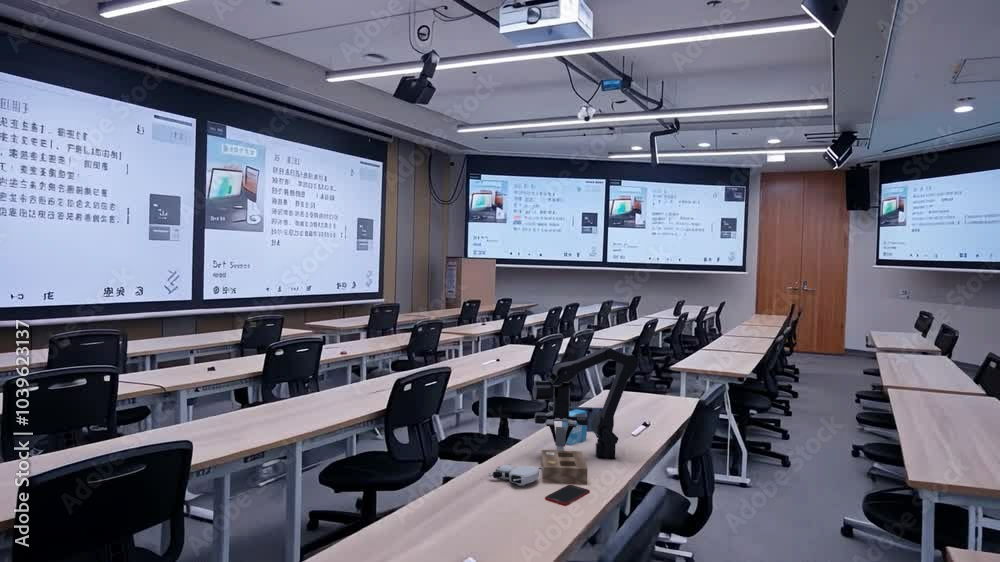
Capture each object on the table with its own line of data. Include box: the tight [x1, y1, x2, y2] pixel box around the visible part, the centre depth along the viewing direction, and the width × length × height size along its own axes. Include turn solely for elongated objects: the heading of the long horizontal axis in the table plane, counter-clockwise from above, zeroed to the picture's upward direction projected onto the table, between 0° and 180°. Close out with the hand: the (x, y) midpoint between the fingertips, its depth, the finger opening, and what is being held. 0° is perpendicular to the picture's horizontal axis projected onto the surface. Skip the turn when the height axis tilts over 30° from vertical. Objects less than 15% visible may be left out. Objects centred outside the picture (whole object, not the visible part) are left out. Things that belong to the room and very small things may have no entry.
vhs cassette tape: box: [569, 406, 603, 433], centre depth 253 cm, size 18×3×10 cm, turn 88°
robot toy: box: [487, 464, 543, 487], centre depth 193 cm, size 12×4×15 cm
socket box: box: [540, 449, 588, 485], centre depth 200 cm, size 14×18×5 cm
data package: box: [561, 409, 587, 446], centre depth 237 cm, size 12×4×12 cm, turn 142°
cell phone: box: [544, 484, 591, 507], centre depth 181 cm, size 8×15×1 cm, turn 142°
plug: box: [554, 426, 566, 451], centre depth 215 cm, size 3×3×8 cm
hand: (560, 442), depth 215 cm, fingers closed on plug, 3 cm apart
